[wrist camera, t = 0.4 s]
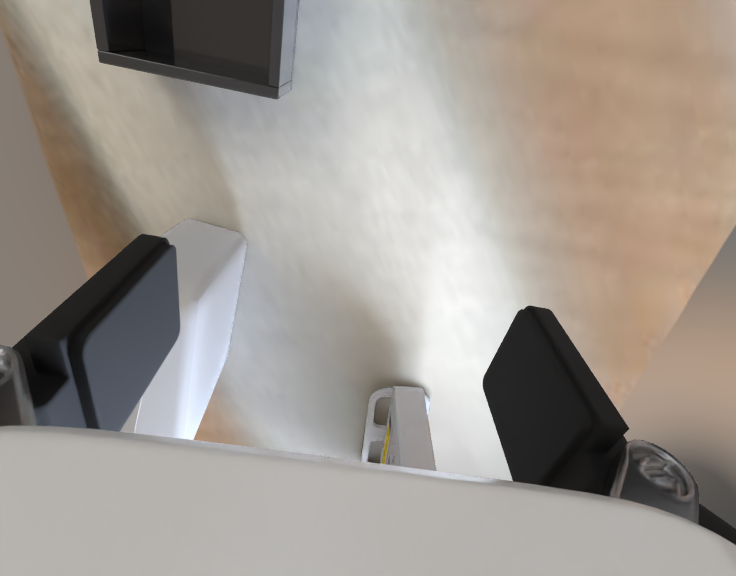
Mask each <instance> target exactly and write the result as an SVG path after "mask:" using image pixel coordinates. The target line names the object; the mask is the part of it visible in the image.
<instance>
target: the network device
mask: <svg viewBox="0 0 736 576" xmlns="http://www.w3.org/2000/svg"><path fill="white" fill-rule="evenodd" d="M382 397H391V401H390V407H389V412H388V418H387V424H386V425H378V424H376V423H374V422H373V419H374V412H375V405H376V401H377V400H378V399H379V398H382ZM429 410H430V400H429V398H428V396H427V395H426V394H425V393H424V390H423V388H420V387H404V386H393V388H384V389H380V390H378V391H376V392H374V393H373V394H372V395H371V396H370V398H369V402H368V410H367V418H366V426H365V434H364V441H363V449H362V461H364V462H369V461H368V454H369V447H370V444H371V443H372V442H374V441H384V442H383V447H382V453H381V459H380V464H386V465H394V466H402V467H409V468H417V469H425V470H432V471H436V466H435V460H434V453H433V447H432V441H431V434H430V428H429V422H428V414H429Z"/></svg>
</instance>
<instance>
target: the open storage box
mask: <svg viewBox="0 0 736 576" xmlns="http://www.w3.org/2000/svg"><path fill="white" fill-rule="evenodd" d="M90 5H91V12H92V18H93V25H94V31H95V38H96V44H97V49H98V57H99V62H100V63H104V64H109V65H114V66H119V67H124V68H128V69H133V70H138V71H143V72H148V73H152V74H157V75H162V76H167V77H172V78H176V79H181V80H186V81H191V82H196V83H200V84H205V85H210V86H215V87H220V88H224V89H229V90H234V91H239V92H244V93H248V94H253V95H258V96H263V97H268V98H272V99H279V98H280V97H282V96H283V95H285V94H286V93H287V92H289V91H290V90H292V81H293V69H294V56H295V44H296V31H297V19H298V6H299V0H90Z"/></svg>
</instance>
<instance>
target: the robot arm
mask: <svg viewBox="0 0 736 576" xmlns="http://www.w3.org/2000/svg"><path fill="white" fill-rule="evenodd" d="M179 333H180V310H179V292H178V273H177V255H176V248H175V246H174V245H170V244H169V241H168V239H167V238H163V237H158V236H152V235H147V234H141V235H139V236H138V237H137V238H136V239H135V240H133V241H132V242H131V243H130V244H129V245H128V246H127V247H125V248H124V249H123V250H122V251H121V252H120V253H119V254H117V255H116V256H115V257H114V258H113V259H112V260H111V261H110V262H108V263H107V264H106V265H105V266H104V267H103V268H102V269H100V270H99V271H98V272H97V273H96V274H95V275H94V276H93V277H91V278H90V279H89V280H88V281H87V282H86V283H85V284H83V285H82V286H81V287H80V288H79V289H78V290H77V291H76V292H74V293H73V294H72V295H71V296H70V297H69V298H68V299H66V300H65V301H64V302H63V303H62V304H61V305H60V306H59V307H57V308H56V309H55V310H54V311H53V312H52V313H51V314H49V315H48V316H47V317H46V318H45V319H44V320H43V321H41V322H40V323H39V324H38V325H37V326H36V327H35V328H34V329H33V330H31V331H30V332H29V333H28V334H27V335H26V336H24V338H23V339H21V340H20V341H19V342H18V343H17V344H16V345H15V346H13V347H12V348H11V347H8V346H4V345H0V576H736V529H735V528H733V527H732V526H731V525H729V524H728V523H726V522H725V521H724V520H722V519H721V518H719V517H718V516H716V515H715V514H713V513H712V512H711V511H709V510H708V509H706V508H705V507H704V506H702V505H701V504H699V490H698V485H697V483H696V481H695V480H694V478H693V476H692V475H691V473H690V472H689V471H688V470H687V469H686V467H685V466H684V465H683V464H682V463H681V462H680V461H678V460H677V459H676V458H675V457H674V456H673V455H671V454H670V453H668V452H667V451H666V450H664V449H662V448H661V447H658V446H657V445H655V444H653V443H650V442H647V441H644V440H632V441H629V442H627V441H626V439H625V437H624V436H623V435H624V434H625V432H627V430H628V429H629V428H628V426H627V425H626V423H625V422H624V420H623V419H622V417H621V416H620V414H619V412H618V411H617V409H616V408H615V406H614V405H613V403H612V402H611V400H610V399H609V397H608V396H607V394H606V393H605V391H604V390H603V388H602V387H601V385H600V384H599V382H598V381H597V379H596V378H595V376H594V375H593V373H592V372H591V370H590V368H589V367H588V365H587V364H586V362H585V361H584V359H583V358H582V356H581V355H580V353H579V352H578V350H577V349H576V347H575V346H574V344H573V343H572V341H571V340H570V338H569V337H568V335H567V334H566V332H565V331H564V329H563V328H562V326H561V325H560V323H559V322H558V320H557V319H556V317H555V315H554V314H553V312H552V311H551V310H549V309H545V308H540V307H535V306H527V307H526V308H525V309H524V310H523V309H522V310H520V311H518V313H517V314H516V316H515V318H514V320H513V322H512V324H511V326H510V328H509V330H508V332H507V334H506V335H505V337H504V339H503V341H502V343H501V345H500V347H499V349H498V351H497V353H496V354H495V356H494V358H493V360H492V362H491V364H490V366H489V368H488V370H487V372H486V373H485V376H484V378H483V389H484V392H485V396H486V399H487V402H488V405H489V408H490V411H491V414H492V417H493V420H494V423H495V426H496V429H497V433H498V436H499V439H500V442H501V445H502V448H503V451H504V454H505V457H506V460H507V463H508V467H509V470H510V473H511V476H512V479H513V481H506V480H498V479H491V478H484V477H476V476H469V475H462V474H454V473H447V472H439V471H432V470H425V469H417V468H409V467H402V466H394V465H386V464H379V463H371V462H364V461H356V460H348V459H340V458H333V457H325V456H317V455H309V454H302V453H294V452H286V451H278V450H270V449H262V448H254V447H246V446H238V445H230V444H222V443H214V442H206V441H198V440H190V439H182V438H173V437H164V436H155V435H146V434H137V433H127V432H120V431H121V429H122V428H123V426H124V424H125V423H126V421H127V420H128V418H129V416H130V415H131V413H132V412H133V410H134V408H135V407H136V405H137V403H138V402H139V400H140V399H141V397H142V395H143V394H144V392H145V391H146V389H147V387H148V386H149V384H150V383H151V381H152V379H153V378H154V376H155V375H156V373H157V371H158V370H159V368H160V367H161V365H162V363H163V362H164V360H165V359H166V357H167V355H168V354H169V352H170V351H171V349H172V347H173V346H174V344H175V343H176V341H177V339H178V336H179Z"/></svg>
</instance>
